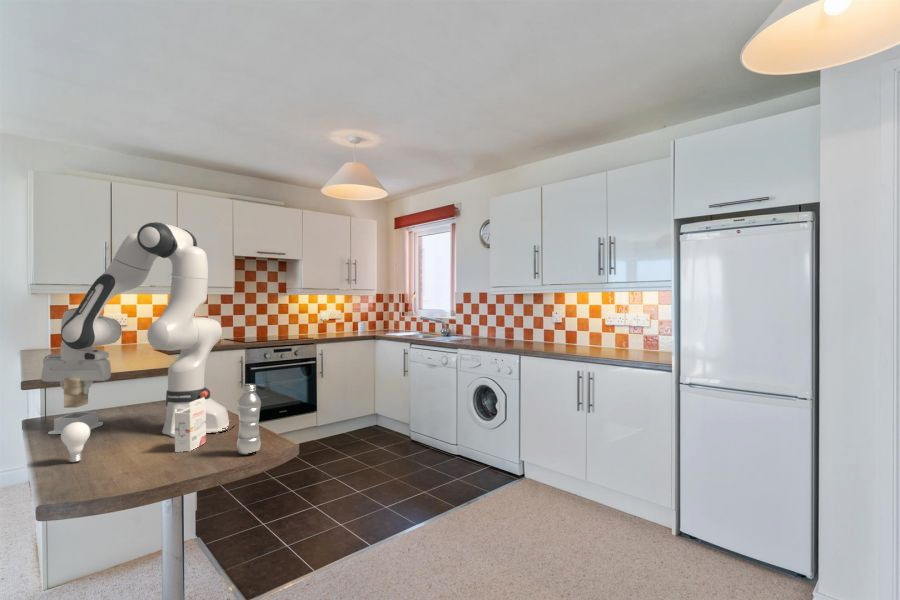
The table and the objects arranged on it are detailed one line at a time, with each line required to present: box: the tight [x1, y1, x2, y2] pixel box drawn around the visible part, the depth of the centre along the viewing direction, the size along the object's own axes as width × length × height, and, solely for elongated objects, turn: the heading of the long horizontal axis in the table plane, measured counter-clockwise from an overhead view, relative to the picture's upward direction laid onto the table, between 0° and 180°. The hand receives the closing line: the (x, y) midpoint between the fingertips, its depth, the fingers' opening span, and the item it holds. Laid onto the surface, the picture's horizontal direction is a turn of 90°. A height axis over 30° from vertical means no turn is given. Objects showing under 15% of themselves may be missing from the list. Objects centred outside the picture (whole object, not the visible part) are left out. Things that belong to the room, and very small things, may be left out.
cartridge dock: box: [47, 411, 104, 435], centre depth 159 cm, size 10×12×5 cm
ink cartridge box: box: [174, 397, 207, 453], centre depth 138 cm, size 9×5×15 cm, turn 179°
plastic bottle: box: [236, 383, 262, 455], centre depth 133 cm, size 6×7×20 cm
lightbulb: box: [60, 422, 91, 464], centre depth 126 cm, size 6×6×11 cm
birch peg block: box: [63, 378, 89, 409], centre depth 159 cm, size 4×6×10 cm, turn 8°
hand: (76, 393), depth 159 cm, fingers closed on birch peg block, 4 cm apart
